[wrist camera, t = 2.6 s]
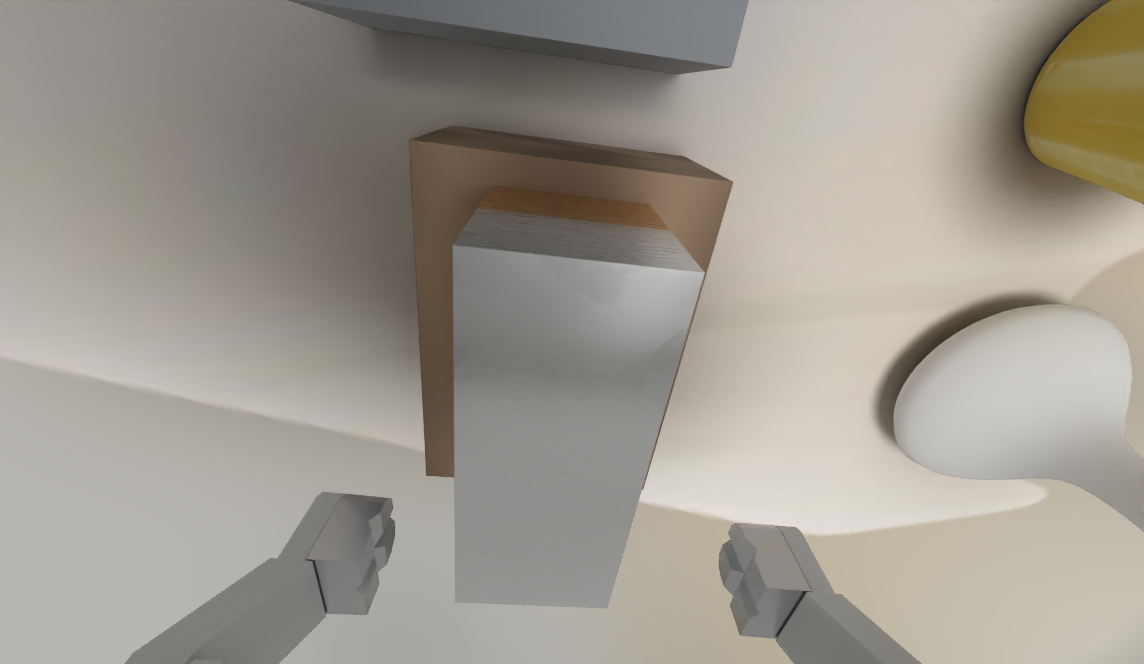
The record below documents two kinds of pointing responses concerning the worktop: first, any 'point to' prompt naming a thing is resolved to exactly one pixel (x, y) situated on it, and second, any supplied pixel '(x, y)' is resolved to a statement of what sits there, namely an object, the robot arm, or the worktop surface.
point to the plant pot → (1094, 101)
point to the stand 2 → (485, 158)
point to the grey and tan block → (559, 388)
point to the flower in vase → (1028, 404)
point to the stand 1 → (569, 27)
